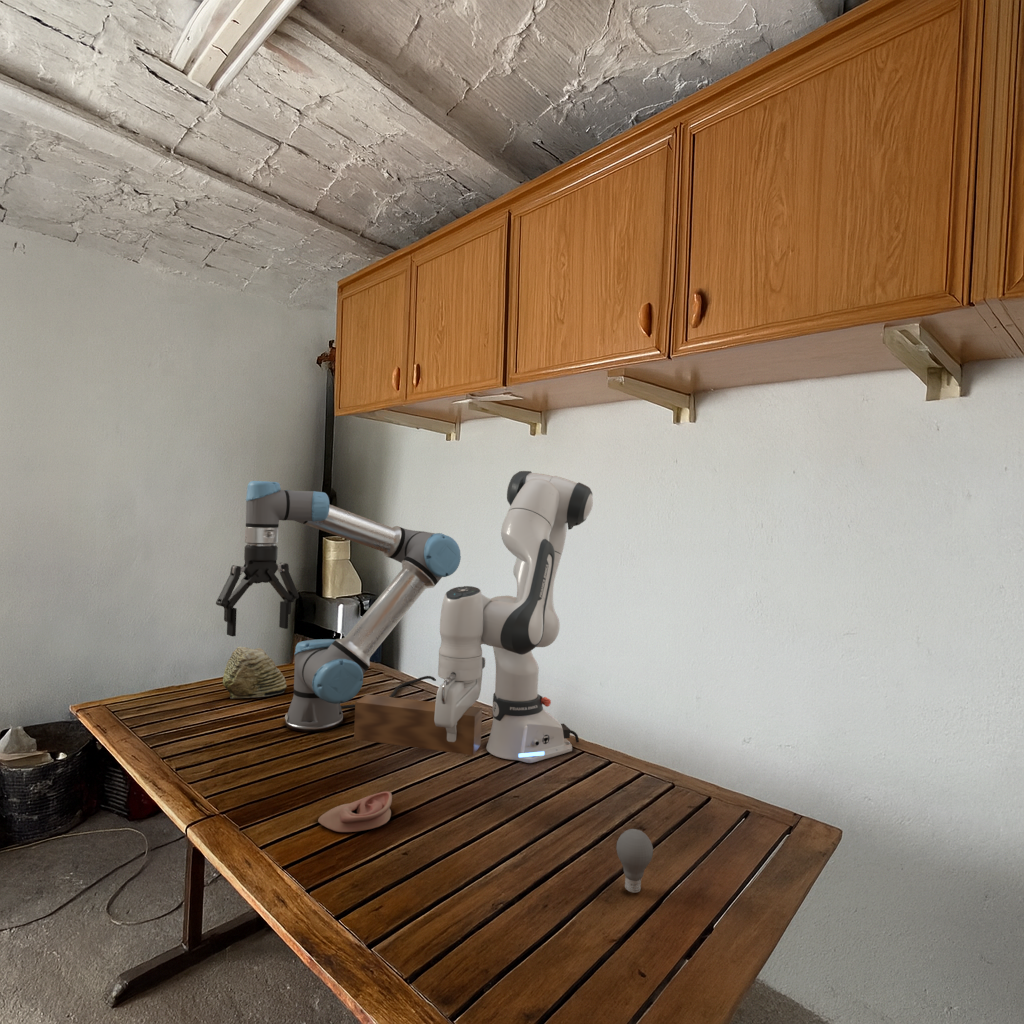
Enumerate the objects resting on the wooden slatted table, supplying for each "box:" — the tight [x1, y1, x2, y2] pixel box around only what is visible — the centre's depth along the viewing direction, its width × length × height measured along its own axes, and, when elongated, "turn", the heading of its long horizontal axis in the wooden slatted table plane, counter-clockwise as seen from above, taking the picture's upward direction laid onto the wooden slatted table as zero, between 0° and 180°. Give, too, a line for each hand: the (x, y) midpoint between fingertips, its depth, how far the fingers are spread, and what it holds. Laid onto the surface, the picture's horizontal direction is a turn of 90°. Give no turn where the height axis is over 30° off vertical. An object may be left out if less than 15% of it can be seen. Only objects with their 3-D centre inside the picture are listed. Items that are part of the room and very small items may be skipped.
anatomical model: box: [317, 791, 393, 833], centre depth 125 cm, size 13×4×12 cm
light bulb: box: [615, 828, 654, 894], centre depth 106 cm, size 6×6×10 cm
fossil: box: [222, 646, 288, 699], centre depth 198 cm, size 9×18×15 cm, turn 132°
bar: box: [353, 693, 483, 756], centre depth 131 cm, size 26×6×8 cm, turn 77°
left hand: (258, 631), depth 154 cm, fingers open, 13 cm apart
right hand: (457, 734), depth 129 cm, fingers closed on bar, 5 cm apart
